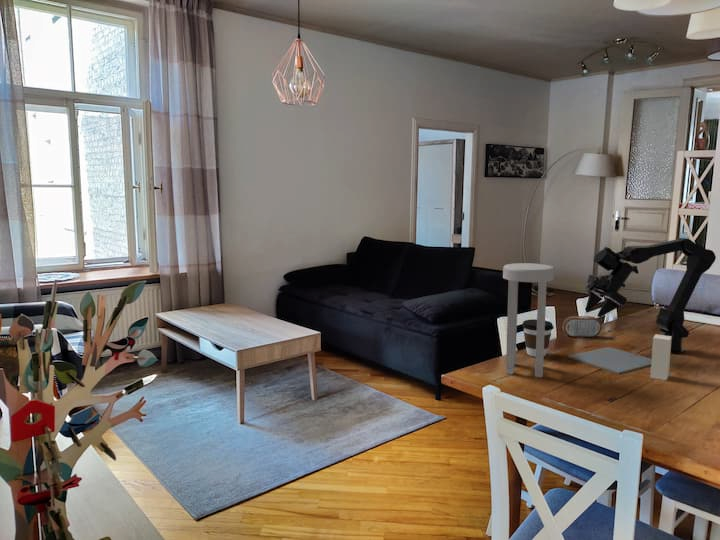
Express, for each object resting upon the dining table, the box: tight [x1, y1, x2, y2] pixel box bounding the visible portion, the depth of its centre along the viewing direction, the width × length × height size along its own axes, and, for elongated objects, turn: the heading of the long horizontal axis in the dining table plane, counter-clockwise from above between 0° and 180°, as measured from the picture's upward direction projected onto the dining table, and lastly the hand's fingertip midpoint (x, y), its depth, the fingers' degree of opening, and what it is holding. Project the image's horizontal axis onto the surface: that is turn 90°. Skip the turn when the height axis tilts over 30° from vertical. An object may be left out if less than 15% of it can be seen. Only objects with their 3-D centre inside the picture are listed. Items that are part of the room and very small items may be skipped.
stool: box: [502, 262, 555, 378], centre depth 172 cm, size 16×16×35 cm
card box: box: [649, 333, 672, 381], centre depth 166 cm, size 5×4×13 cm
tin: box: [561, 315, 603, 338], centre depth 213 cm, size 15×3×8 cm, turn 84°
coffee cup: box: [521, 318, 554, 358], centre depth 190 cm, size 11×11×12 cm
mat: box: [567, 346, 652, 375], centre depth 184 cm, size 22×20×1 cm
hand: (592, 313), depth 190 cm, fingers open, 9 cm apart
